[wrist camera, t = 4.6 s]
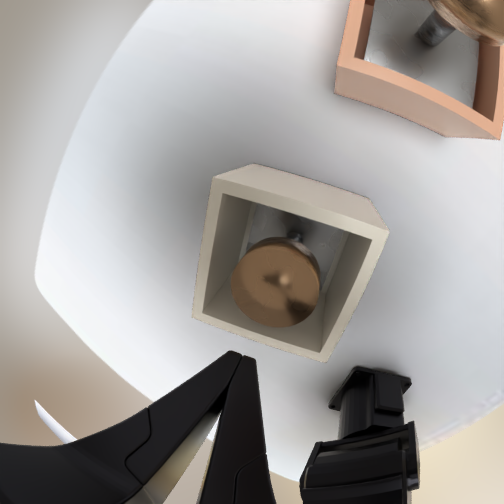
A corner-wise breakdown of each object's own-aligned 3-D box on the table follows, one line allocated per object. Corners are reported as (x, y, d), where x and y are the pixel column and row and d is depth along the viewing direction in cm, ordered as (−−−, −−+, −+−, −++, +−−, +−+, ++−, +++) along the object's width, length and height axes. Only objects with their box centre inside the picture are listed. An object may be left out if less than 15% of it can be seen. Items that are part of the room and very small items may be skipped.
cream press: (330, 298, 20) (325, 363, 14) (231, 265, 22) (191, 317, 15) (368, 198, 17) (389, 231, 11) (253, 163, 18) (212, 176, 12)
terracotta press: (445, 137, 14) (499, 140, 8) (334, 93, 15) (336, 65, 9) (460, 41, 10) (506, 10, 4) (354, -2, 12) (360, -57, 5)
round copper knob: (321, 287, 19) (313, 355, 13) (244, 262, 20) (205, 318, 14) (349, 211, 17) (359, 254, 11) (262, 184, 18) (224, 211, 12)
